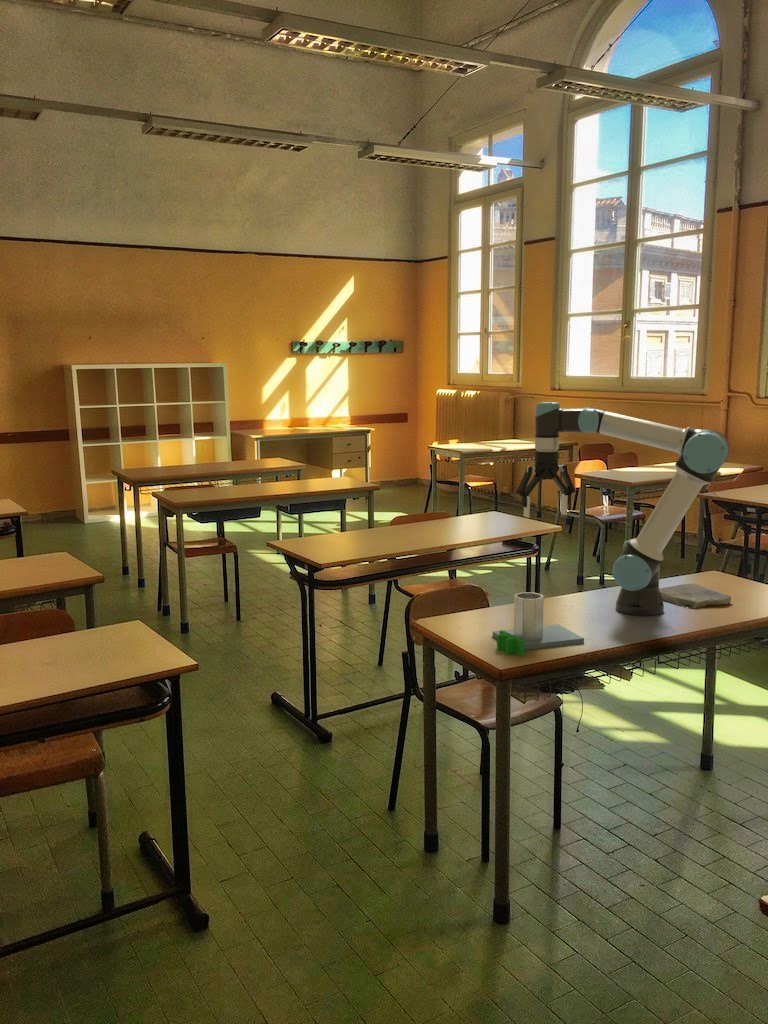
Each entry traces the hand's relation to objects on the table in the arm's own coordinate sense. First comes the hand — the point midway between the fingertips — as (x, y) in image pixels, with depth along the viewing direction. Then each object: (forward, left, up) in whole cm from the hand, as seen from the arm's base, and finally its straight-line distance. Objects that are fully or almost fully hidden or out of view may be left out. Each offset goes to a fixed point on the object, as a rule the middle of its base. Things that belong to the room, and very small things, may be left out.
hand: (545, 515), depth 279 cm
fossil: (-54, +6, -32) cm, 63 cm away
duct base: (+17, +28, -32) cm, 46 cm away
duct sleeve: (+20, +28, -30) cm, 46 cm away
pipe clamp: (+30, +35, -32) cm, 56 cm away
